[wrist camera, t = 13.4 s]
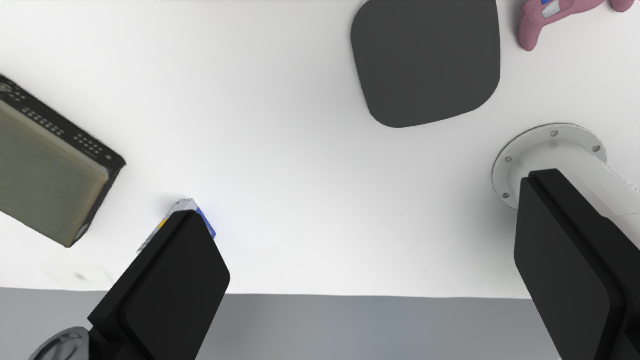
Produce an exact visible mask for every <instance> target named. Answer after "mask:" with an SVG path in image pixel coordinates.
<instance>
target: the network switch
mask: <svg viewBox="0 0 640 360" xmlns="http://www.w3.org/2000/svg"><path fill="white" fill-rule="evenodd" d="M125 165H126V163H125V161H124V160H123V159H122V158H121V157H120V156H119V155H117V154H116V153H114V152H113V151H111V150H110V149H108V148H107V147H105V146H103V145H102V144H100V143H99V142H97V141H96V140H94V139H92V138H91V137H89V136H88V135H87V134H85V133H84V132H82V131H81V130H79V129H78V128H76V127H75V126H73V125H72V124H70V123H69V122H67V121H66V120H64V119H63V118H61V117H59V116H58V115H56V114H55V113H54V112H52V111H51V110H50V109H48V108H47V107H46V106H44V105H43V104H41V103H40V102H38V101H37V100H35V99H34V98H32V97H31V96H29V95H28V94H26V93H25V92H24V91H22V90H21V89H20V88H19V87H18V86H16V85H15V84H14V83H13V82H12V81H10V80H8V79H6V78H4V77H2V76H0V211H2V212H3V213H5V214H7V215H9V216H11V217H13V218H15V219H16V220H18V221H20V222H22V223H23V224H25V225H26V226H28V227H30V228H32V229H34V230H35V231H37V232H39V233H41V234H43V235H44V236H46V237H48V238H50V239H52V240H54V241H56V242H57V243H59V244H61V245H63V246H64V247H65V248H70V247H71V246H72V245H73V244H74V243H75V242H77V241H78V240H79V239H80V238H81V237H82V236H83V235H84V234H85V232H86V231H87V230H88V228H89V226H90V223H91V221H92V219H93V218H94V215H95V213H96V211H97V210H98V208H99V207H100V205H101V203H102V202H103V199H104V198H105V196H106V194H107V192H108V191H109V189H110V188H111V186H112V184H113V182H114V181H115V179H116V177H117V175H118V173H119V171H120V169H121V168H122V167H123V166H125Z"/></svg>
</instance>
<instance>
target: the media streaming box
mask: <svg viewBox="0 0 640 360" xmlns="http://www.w3.org/2000/svg"><path fill="white" fill-rule="evenodd" d="M351 43H352V48H353V53H354V58H355V63H356V67H357V71H358V75H359V79H360V83H361V86H362V90H363V93H364V96H365V100H366V103H367V106H368V108H369V111H370V113H371V115H372V116H373V117H374V118H375V119H376V120H377V121H378V122H380V123H381V124H383V125H386V126H389V127H394V128H402V127H409V126H415V125H421V124H426V123H431V122H435V121H439V120H443V119H447V118H450V117H454V116H457V115H460V114H463V113H466V112H469V111H472V110H475V109H476V108H478V107H480V106H481V105H482V104H484V103H485V102H486V101H487V100H488V99H489V98H490V97H491V95H492V94H493V93H494V91H495V89H496V87H497V85H498V82H499V79H500V35H499V23H498V14H497V6H496V0H369V1H368V2H366V3H365V4H364V5H363V6H362V7H361V9H360V10H359V11H358V13H357V15H356V17H355V19H354V22H353V25H352V29H351Z"/></svg>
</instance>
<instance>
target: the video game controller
mask: <svg viewBox="0 0 640 360" xmlns="http://www.w3.org/2000/svg"><path fill="white" fill-rule="evenodd" d="M604 1H605V0H528V1H527V2H526V3H525V4H523V5H522V7H521V11H522V14H521V18H520V23H519V29H518V37H519V42H520V45H521V47H522V48H523V49H524V50H526V51H531V50H532V49H533V48H534V47H535V45H536V43H537V39H538V36H539V33H540V31H541V29H542V27H543V26H545V25H547V24H550V23H552V22H555V21H557V20H560V19H562V18H564V17H566V16H569V15H571V14H575V13H581V12H585V11H588V10H590V9H593V8H595V7H596V6H598V5H600V4H601V3H603V2H604ZM611 2H612V5H613V8H614V10H615V11H617V12H624V11H626V10H628V9H629V8H630V7H631V6H632V4H633V2H634V0H611Z"/></svg>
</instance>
